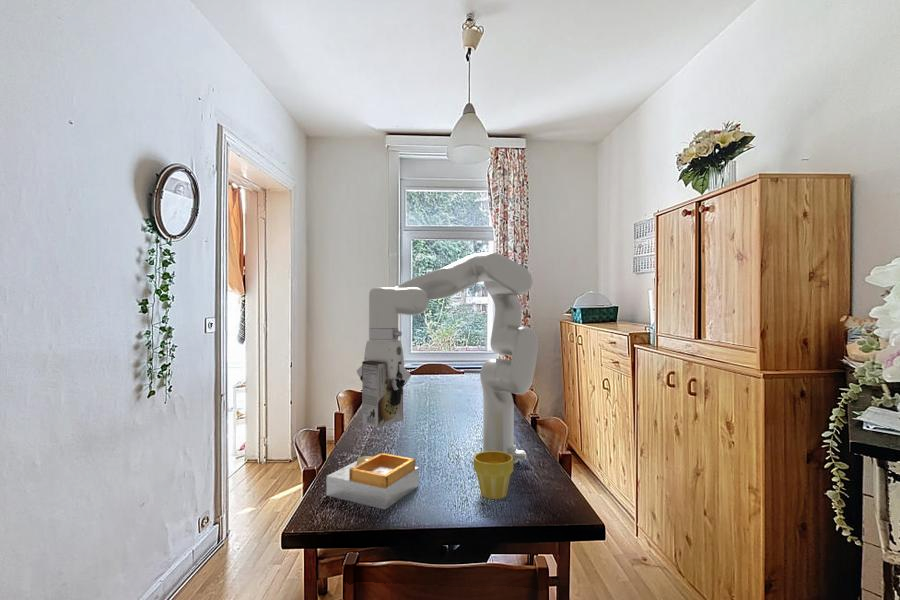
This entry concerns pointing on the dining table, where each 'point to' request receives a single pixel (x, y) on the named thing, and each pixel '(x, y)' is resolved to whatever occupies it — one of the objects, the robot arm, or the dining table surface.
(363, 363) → the coffee box
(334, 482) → the white and orange tray
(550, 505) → the dining table surface
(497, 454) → the plant pot
